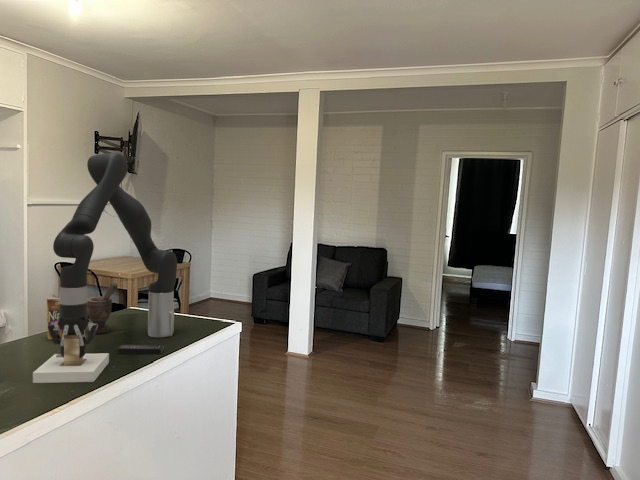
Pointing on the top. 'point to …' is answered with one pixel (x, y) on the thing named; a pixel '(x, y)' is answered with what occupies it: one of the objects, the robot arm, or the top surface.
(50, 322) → the candy box
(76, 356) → the square peg
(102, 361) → the socket plate
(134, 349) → the multiport hub
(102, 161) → the robot arm
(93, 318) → the mortar and pestle
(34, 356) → the top surface
